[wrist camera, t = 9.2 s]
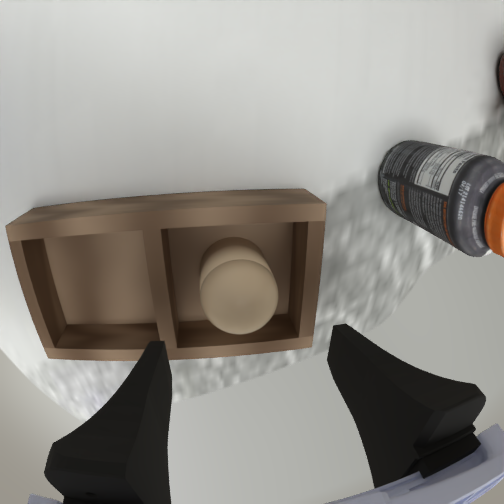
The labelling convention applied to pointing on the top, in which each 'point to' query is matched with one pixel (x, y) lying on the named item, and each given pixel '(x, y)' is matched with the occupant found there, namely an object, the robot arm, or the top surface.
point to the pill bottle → (447, 194)
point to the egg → (237, 286)
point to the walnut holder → (163, 271)
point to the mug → (501, 74)
